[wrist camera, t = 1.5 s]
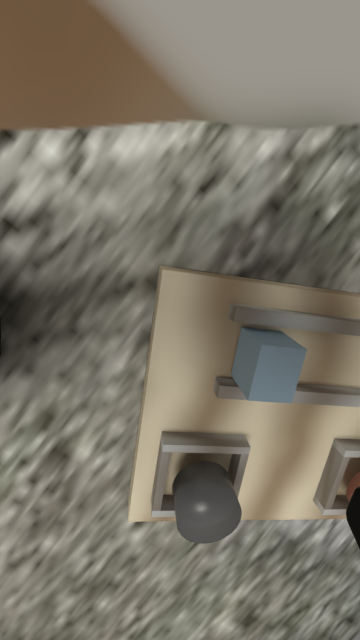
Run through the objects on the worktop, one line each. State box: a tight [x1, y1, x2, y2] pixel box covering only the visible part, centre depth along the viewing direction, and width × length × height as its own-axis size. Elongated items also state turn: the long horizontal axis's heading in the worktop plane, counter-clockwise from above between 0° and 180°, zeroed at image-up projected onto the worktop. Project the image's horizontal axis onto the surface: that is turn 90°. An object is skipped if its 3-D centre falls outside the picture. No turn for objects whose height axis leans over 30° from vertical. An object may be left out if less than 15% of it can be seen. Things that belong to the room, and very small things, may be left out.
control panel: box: [128, 265, 360, 522], centre depth 20 cm, size 20×17×3 cm
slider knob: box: [231, 327, 307, 403], centre depth 16 cm, size 2×3×3 cm
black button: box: [172, 461, 242, 543], centre depth 17 cm, size 4×4×2 cm
